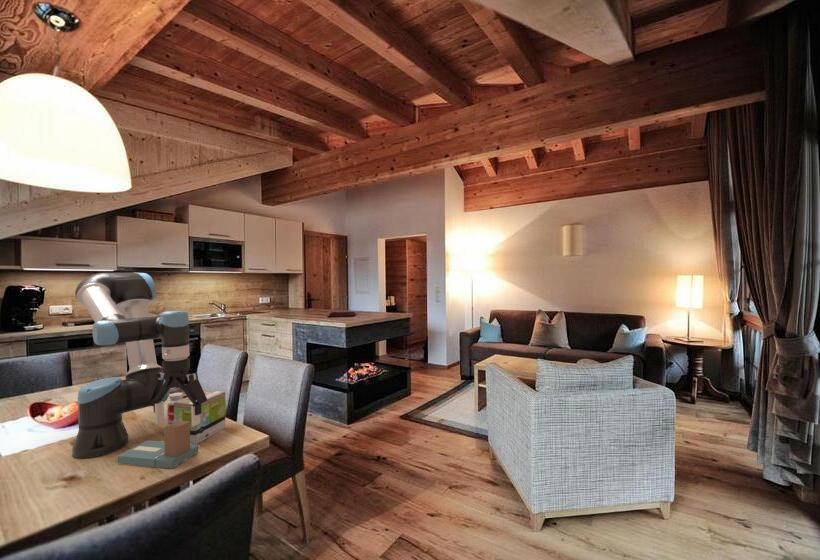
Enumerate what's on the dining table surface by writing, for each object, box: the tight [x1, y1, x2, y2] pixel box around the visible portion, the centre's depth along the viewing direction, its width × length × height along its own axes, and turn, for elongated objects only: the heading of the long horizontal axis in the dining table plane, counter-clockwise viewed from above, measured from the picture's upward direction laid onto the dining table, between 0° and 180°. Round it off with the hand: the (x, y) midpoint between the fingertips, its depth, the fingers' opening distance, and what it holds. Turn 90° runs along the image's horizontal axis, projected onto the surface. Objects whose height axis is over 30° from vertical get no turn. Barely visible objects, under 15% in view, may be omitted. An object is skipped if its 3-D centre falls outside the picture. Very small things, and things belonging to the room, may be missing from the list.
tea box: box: [173, 389, 226, 445], centre depth 138 cm, size 15×10×15 cm
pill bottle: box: [167, 392, 185, 424], centre depth 152 cm, size 6×6×11 cm
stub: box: [155, 421, 200, 470], centre depth 120 cm, size 6×11×11 cm, turn 169°
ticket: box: [116, 439, 165, 468], centre depth 122 cm, size 14×11×3 cm
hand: (177, 423), depth 119 cm, fingers open, 13 cm apart
